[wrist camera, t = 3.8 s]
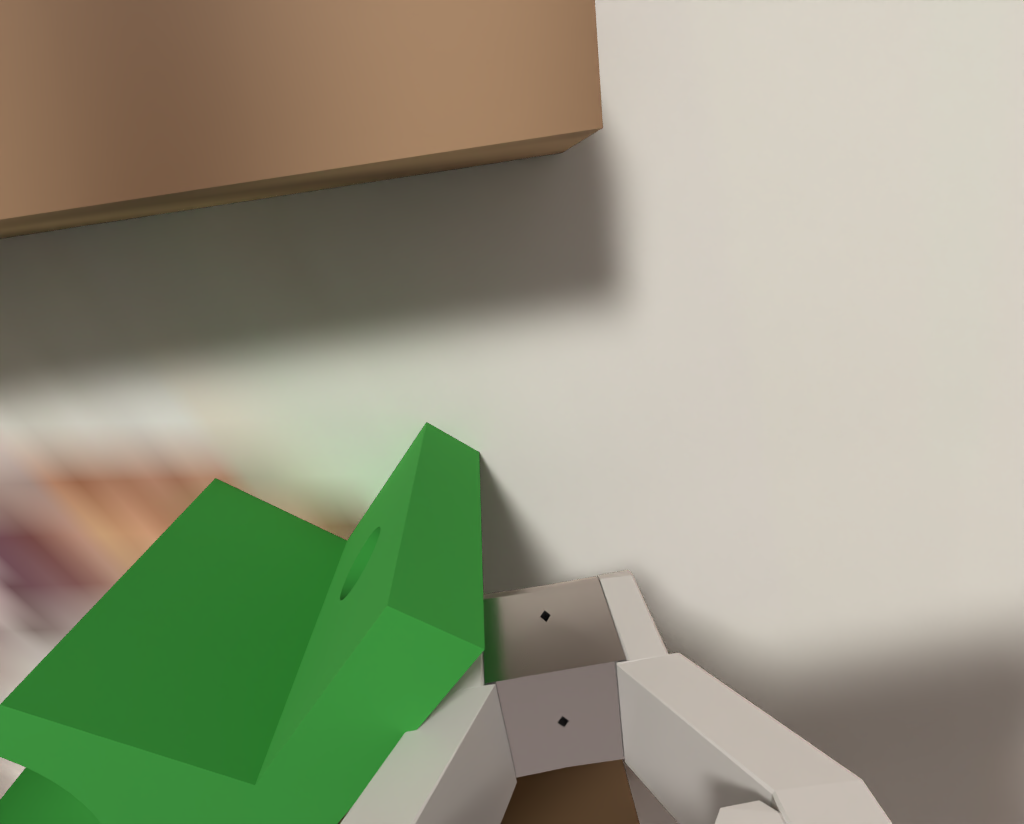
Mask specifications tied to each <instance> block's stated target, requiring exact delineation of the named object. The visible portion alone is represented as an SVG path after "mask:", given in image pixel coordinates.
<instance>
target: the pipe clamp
mask: <svg viewBox="0 0 1024 824" xmlns="http://www.w3.org/2000/svg"><path fill="white" fill-rule="evenodd" d="M484 650H485V640H484V604H483V568H482V532H481V497H480V461H479V452H478V451H476V450H474V449H473V448H471V447H469V446H467V445H466V444H464V443H462V442H460V441H459V440H457V439H455V438H453V437H452V436H450V435H448V434H446V433H445V432H443V431H441V430H439V429H438V428H436V427H434V426H432V425H431V424H429V423H427V422H426V424H425V425H424V427H423V428H422V430H421V431H420V433H419V434H418V436H417V437H416V439H415V440H414V442H413V443H412V445H411V446H410V448H409V449H408V451H407V452H406V454H405V455H404V457H403V458H402V460H401V461H400V463H399V464H398V466H397V467H396V469H395V470H394V472H393V473H392V475H391V476H390V478H389V479H388V481H387V482H386V484H385V485H384V487H383V488H382V490H381V491H380V493H379V494H378V496H377V497H376V498H375V500H374V501H373V503H372V504H371V506H370V507H369V509H368V510H367V512H366V513H365V515H364V516H363V518H362V519H361V521H360V522H359V524H358V525H357V527H356V528H355V530H354V531H353V533H352V534H351V536H350V537H349V539H348V540H347V541H346V540H344V539H342V538H340V537H338V536H336V535H334V534H332V533H329V532H327V531H325V530H323V529H321V528H319V527H317V526H315V525H313V524H311V523H308V522H306V521H304V520H302V519H300V518H298V517H296V516H294V515H292V514H290V513H287V512H285V511H283V510H281V509H279V508H277V507H275V506H273V505H271V504H268V503H266V502H264V501H262V500H260V499H258V498H256V497H254V496H252V495H250V494H247V493H245V492H243V491H241V490H239V489H237V488H235V487H233V486H231V485H229V484H226V483H224V482H222V481H220V480H218V479H216V478H215V479H214V480H213V481H212V482H211V484H210V485H209V486H208V487H207V488H206V489H205V490H204V491H203V492H202V493H201V494H200V495H199V496H198V497H197V498H196V499H195V500H194V501H193V502H192V503H191V505H190V506H189V507H188V508H187V509H186V510H185V511H184V512H183V513H182V514H181V515H180V516H179V517H178V518H177V519H176V520H175V521H174V522H173V523H172V525H171V526H170V527H169V528H168V529H167V530H166V531H165V532H164V533H163V534H162V535H161V536H160V537H159V538H158V539H157V540H156V541H155V542H154V543H153V544H152V546H151V547H150V548H149V549H148V550H147V551H146V552H145V553H144V554H143V555H142V556H141V557H140V558H139V559H138V560H137V561H136V562H135V563H134V564H133V566H132V567H131V568H130V569H129V570H128V571H127V572H126V573H125V574H124V575H123V576H122V577H121V578H120V579H119V580H118V581H117V582H116V583H115V584H114V585H113V587H112V588H111V589H110V590H109V591H108V592H107V593H106V594H105V595H104V596H103V597H102V598H101V599H100V600H99V601H98V602H97V603H96V604H95V605H94V606H93V608H92V609H91V610H90V611H89V612H88V613H87V614H86V615H85V616H84V617H83V618H82V619H81V620H80V621H79V622H78V623H77V624H76V625H75V626H74V628H73V629H72V630H71V631H70V632H69V633H68V634H67V635H66V636H65V637H64V638H63V639H62V640H61V641H60V642H59V643H58V644H57V645H56V646H55V647H54V649H53V650H52V651H51V652H50V653H49V654H48V655H47V656H46V657H45V658H44V659H43V660H42V661H41V662H40V663H39V664H38V665H37V666H36V667H35V668H34V670H33V671H32V672H31V673H30V674H29V675H28V676H27V677H26V678H25V679H24V680H23V681H22V682H21V683H20V684H19V685H18V686H17V687H16V688H15V690H14V691H13V692H12V693H11V694H10V695H9V696H8V697H7V698H6V699H5V700H4V701H3V702H2V703H1V704H0V757H2V758H4V759H7V760H9V761H12V762H14V763H17V764H20V765H22V766H24V767H26V768H25V769H24V771H23V772H22V773H21V774H20V776H19V777H18V778H17V779H16V781H15V782H14V783H13V784H12V786H11V787H10V788H9V789H8V791H7V792H6V793H5V794H4V796H3V797H2V798H1V799H0V824H338V823H339V821H340V820H341V819H342V818H343V817H344V815H345V814H346V813H347V812H348V811H349V810H350V808H351V807H352V806H353V805H354V803H355V802H356V801H357V799H358V798H359V796H360V795H361V794H362V792H363V791H364V789H365V788H366V787H367V785H368V784H369V782H370V781H371V779H372V778H373V777H374V775H375V774H376V772H377V771H378V770H379V768H380V767H381V765H382V764H383V763H384V761H385V760H386V758H387V757H388V756H389V754H390V753H391V751H392V750H393V749H394V747H395V746H396V744H397V743H398V741H399V740H400V739H401V737H402V736H403V734H404V733H405V732H408V731H414V730H417V729H418V728H419V727H420V725H421V724H422V723H423V722H424V721H425V720H426V718H427V717H428V716H429V715H430V714H431V712H432V711H433V710H434V709H435V708H436V707H437V705H438V704H439V703H440V702H441V701H442V699H443V698H444V697H445V696H446V695H447V694H448V692H449V691H450V690H451V689H452V688H453V686H454V685H455V684H456V683H457V682H458V680H459V679H460V678H461V677H462V676H463V675H464V673H465V672H466V671H467V670H468V669H469V667H470V666H471V665H472V664H473V663H474V662H475V660H476V659H477V658H478V657H479V656H480V654H481V653H482V652H483V651H484Z"/></svg>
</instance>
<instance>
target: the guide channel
mask: <svg viewBox="0 0 1024 824" xmlns="http://www.w3.org/2000/svg"><path fill="white" fill-rule="evenodd" d="M602 128H603V123H602V107H601V91H600V75H599V59H598V44H597V28H596V12H595V0H0V239H1V238H8V237H14V236H21V235H28V234H34V233H41V232H47V231H54V230H60V229H67V228H73V227H80V226H86V225H93V224H100V223H106V222H113V221H119V220H126V219H132V218H139V217H145V216H152V215H158V214H165V213H171V212H178V211H185V210H191V209H198V208H204V207H211V206H217V205H224V204H230V203H237V202H243V201H250V200H257V199H263V198H270V197H276V196H283V195H289V194H296V193H302V192H309V191H315V190H322V189H328V188H335V187H342V186H348V185H355V184H361V183H368V182H374V181H381V180H387V179H394V178H400V177H407V176H414V175H420V174H427V173H433V172H440V171H446V170H453V169H459V168H466V167H472V166H479V165H486V164H492V163H499V162H505V161H512V160H518V159H525V158H531V157H538V156H544V155H551V154H557V153H563V152H564V151H566V150H567V149H569V148H571V147H572V146H574V145H576V144H577V143H579V142H580V141H582V140H584V139H585V138H587V137H589V136H590V135H592V134H594V133H595V132H597V131H598V130H600V129H602ZM516 780H517V783H516V786H515V788H514V791H513V793H512V796H511V799H510V801H509V804H508V806H507V809H506V811H505V814H504V816H503V819H502V821H501V824H640V823H639V820H638V816H637V812H636V809H635V805H634V801H633V798H632V794H631V790H630V787H629V783H628V779H627V776H626V772H625V768H624V765H623V761H622V759H620V760H613V761H606V762H599V763H592V764H585V765H578V766H571V767H565V768H561V769H556V770H551V771H546V772H541V773H536V774H532V775H527V776H522V777H517V778H516ZM351 808H352V807H351ZM351 808H350V809H351ZM348 812H349V811H348ZM348 812H347V813H348ZM347 813H346V814H345V815H344V817H345V816H346V815H347ZM344 817H343V818H342V819H341V820H340V821H339V823H338V824H340V823H341V822H342V820H343V819H344Z"/></svg>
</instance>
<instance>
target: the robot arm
mask: <svg viewBox="0 0 1024 824" xmlns="http://www.w3.org/2000/svg"><path fill="white" fill-rule="evenodd" d="M483 604H484V640H485V650H484V651H483V652H482V653H481V654H480V656H479V657H478V658H477V659H476V660H475V662H474V663H473V664H472V665H471V666H470V667H469V669H468V670H467V671H466V672H465V673H464V675H463V676H462V677H461V678H460V679H459V680H458V682H457V683H456V684H455V685H454V686H453V688H452V689H451V690H450V691H449V692H448V694H447V695H446V696H445V697H444V698H443V699H442V701H441V702H440V703H439V704H438V705H437V707H436V708H435V709H434V710H433V711H432V712H431V714H430V715H429V716H428V717H427V718H426V720H425V721H424V722H423V723H422V724H421V725H420V727H419V728H418V729H417V730H414V731H408V732H405V733H404V734H403V736H402V737H401V739H400V740H399V741H398V743H397V744H396V746H395V747H394V749H393V750H392V751H391V753H390V754H389V756H388V757H387V758H386V760H385V761H384V763H383V764H382V765H381V767H380V768H379V770H378V771H377V772H376V774H375V775H374V777H373V778H372V779H371V781H370V782H369V784H368V785H367V787H366V788H365V789H364V791H363V792H362V794H361V795H360V796H359V798H358V799H357V801H356V802H355V803H354V805H353V806H352V808H351V809H350V810H349V812H348V813H347V815H346V816H345V817H344V819H343V820H342V822H341V823H340V824H501V821H502V819H503V816H504V814H505V811H506V809H507V806H508V804H509V801H510V799H511V796H512V793H513V791H514V788H515V786H516V783H517V780H516V778H517V777H522V776H527V775H532V774H536V773H541V772H546V771H551V770H556V769H561V768H565V767H571V766H578V765H585V764H592V763H599V762H606V761H613V760H620V759H625V763H626V764H627V765H628V766H629V767H630V769H631V770H632V771H633V772H634V773H635V774H636V775H637V777H638V778H639V779H640V780H641V781H642V782H643V783H644V785H645V786H646V787H647V788H648V789H649V790H650V791H651V793H652V794H653V795H654V796H655V797H656V798H657V799H658V801H659V802H660V803H661V804H662V805H663V806H664V807H665V809H666V810H667V811H668V812H669V813H670V814H671V815H672V817H673V818H674V819H675V820H676V821H677V822H678V823H679V824H892V822H891V821H890V819H889V818H888V816H887V815H886V814H885V812H884V811H883V809H882V808H881V806H880V805H879V803H878V802H877V800H876V799H875V797H874V796H873V795H872V793H871V792H870V790H869V789H868V787H867V786H866V784H865V783H864V781H863V780H862V779H861V778H859V777H858V776H856V775H855V774H854V773H852V772H851V771H849V770H848V769H846V768H845V767H843V766H842V765H841V764H839V763H838V762H836V761H835V760H833V759H832V758H830V757H829V756H828V755H826V754H825V753H823V752H822V751H820V750H819V749H818V748H816V747H815V746H813V745H812V744H810V743H809V742H807V741H806V740H805V739H803V738H802V737H800V736H799V735H797V734H796V733H794V732H793V731H792V730H790V729H789V728H787V727H786V726H784V725H783V724H781V723H780V722H779V721H777V720H776V719H774V718H773V717H771V716H770V715H769V714H767V713H766V712H764V711H763V710H761V709H760V708H758V707H757V706H756V705H754V704H753V703H751V702H750V701H748V700H747V699H745V698H744V697H743V696H741V695H740V694H738V693H737V692H735V691H734V690H733V689H731V688H730V687H728V686H727V685H725V684H724V683H722V682H721V681H720V680H718V679H717V678H715V677H714V676H712V675H711V674H709V673H708V672H707V671H705V670H704V669H702V668H701V667H699V666H698V665H697V664H695V663H694V662H692V661H691V660H689V659H688V658H686V657H685V656H684V655H682V654H681V653H672V654H668V652H667V649H666V647H665V645H664V643H663V640H662V638H661V636H660V634H659V631H658V629H657V627H656V625H655V623H654V620H653V618H652V616H651V614H650V611H649V609H648V607H647V605H646V603H645V600H644V598H643V596H642V594H641V591H640V589H639V587H638V585H637V582H636V580H635V578H634V576H633V574H632V573H631V572H630V571H629V570H623V571H617V572H612V573H607V574H601V575H597V577H596V576H593V577H588V578H582V579H576V580H571V581H565V582H559V583H554V584H548V585H542V586H536V587H529V588H522V589H515V590H508V591H501V592H494V593H487V594H483Z"/></svg>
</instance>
